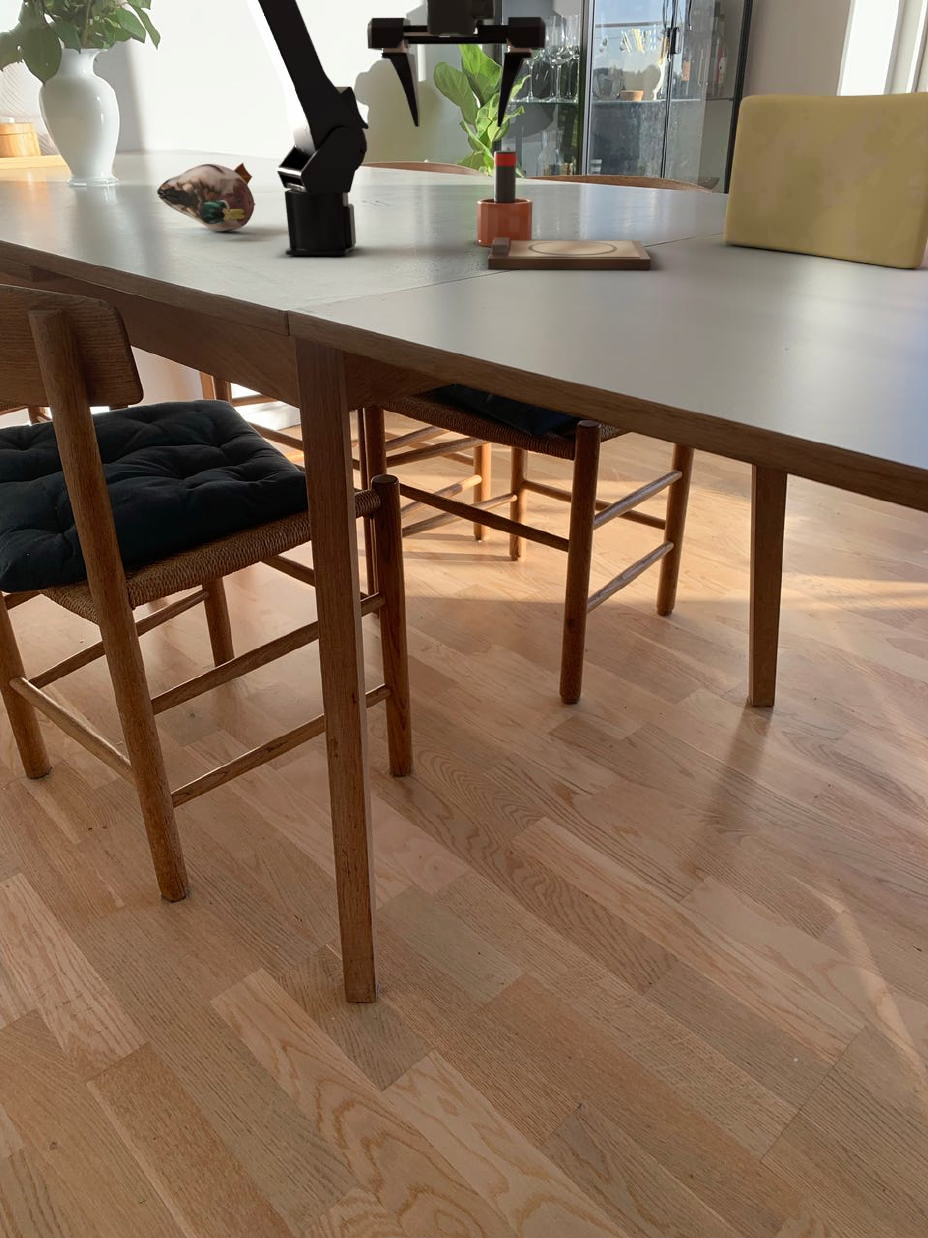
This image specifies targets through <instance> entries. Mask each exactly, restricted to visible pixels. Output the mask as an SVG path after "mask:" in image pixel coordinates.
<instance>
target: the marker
mask: <svg viewBox="0 0 928 1238" xmlns="http://www.w3.org/2000/svg"><path fill="white" fill-rule="evenodd" d="M517 160H518V156H517V150H495V151H494V153H493V165H494V169H493V170H494V176H493V177H494V178H493V180H494V181H493V183H494V184H493V198H494V203H515V198H516V195H517V194H516V192H517V191H516V190H517V189H516V187H517V186H516V185H517V179H516V178H517V165H518V164H517Z"/></svg>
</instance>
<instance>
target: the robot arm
mask: <svg viewBox="0 0 928 1238" xmlns="http://www.w3.org/2000/svg"><path fill="white" fill-rule="evenodd" d="M246 2H247V4H248V7H249V9H250V11H251V14H252V16H253V19H254V21H255V24H256V26H257V28H258V30H259V32H260V35H261V37H262V39H263V42H264V44H265V47H266V49H267V51H268V54H269V56H270V58H271V60H272V62H273V65H274V67H275V70H276V72H277V75H278V76H279V79H280V82H281V84H282V86H283V89H284V94H285V103H286V111H287V120H288V121H287V122H288V124H289V128H290V132H291V135H292V139H293V146H292V147H291V148H290V150H289V152H288V153H287V154H286V156H285V157H284V158H283V160H282V161H280V163H279V165H278V166H277V168H276V172H277V174H278V177H279V179H280V181H281V184H282V186H283V188H284V189H288V190H286V191H284V200H285V211H286V221H287V230H288V232H287V233H288V242H289V248H287V249H286V250H285V255H286V256H345V255H347V254H348V253H349V252H350V251H352V250H353V249H354V248H356V247H355V246H356V244H357V236H356V235H357V234H356V221H355V219H356V218H355V206H354V205H353V203H349V193H351V190H352V186H353V182H354V178H355V174H356V171H357V170H359V169H360V167H361V165H362V164H363V162H364V161H365V160H364V159H365V158H366V157H365V156H366V153H367V152H368V140H367V136H366V132H365V130H369V127H370V126H369V125H368V124H367V122H365V120H364V118H363V117H362V115H361V112H360V109H359V107H358V106H359V105H358V101H357V98H356V94H355V92H354V89H353V87H352V86H335V84H334V83H333V82H332V81H331V78H329V76H328V75H327V74H326V72H325V70H324V67H323V65H322V63H321V62H322V61H321V60H320V57H319V55H318V53H317V51H316V47H315V45H314V42H313V40H312V38H311V35H310V33H309V30H308V27H307V24H306V22H305V20H304V18H303V15H302V13H301V10H300V8H299V5H298V2H297V0H246ZM425 11H426V24H411V20H410V19H408V18H406V17H371V19H370V20H369V22H368V23H367V28H366V36H367V37H366V39H367V40H366V41H367V49H369V50H373V51H382V52H380V58H381V59H382V60H387V61H390V63H391V65H392V66H393V68H394V71H395V72H396V74H397V76H398V79H399V81H400V83H401V86H402V90H403V92H404V95H405V99H406V102H407V106H408V108H409V112H410V115H411V119H412V121H413V125H414V127H415V128H419V127H420V125H421V124H420V122H421V108H420V97H419V86H418V77H417V65H416V55H415V54H414V53H410V49H411V48H412V46H413V45H415V46H416V45H418V46H419V45H506V48H507V49H508V51H507V52H504V53H503V61H502V62H503V63H502V73H501V81H500V88H499V90H500V91H499V95H498V97H499V98H498V104H497V117H496V118H497V120H496V121H497V123H496V124H497V125H496V126H497V128H502V126H503V122H504V119H505V117H506V112H507V109H508V106H509V104H510V100H511V96H512V92H513V90H514V86H515V84H516V81H517V79H518V77H519V74H520V72H521V69H522V67H523V65H524V63H525V61H528V60H529V61H531V60H534V53H533V51H546V50H547V23H546V22H545V21H544V19H543V18H542V17H541V16H508V17H507V24H486V21H487V20H494V19H495V16H496V0H425ZM476 31H477V32H476ZM475 32H476V33H475Z"/></svg>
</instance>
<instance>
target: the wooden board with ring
mask: <svg viewBox="0 0 928 1238" xmlns="http://www.w3.org/2000/svg"><path fill="white" fill-rule="evenodd" d="M490 248H491V249H490V250H489V251H490V252H489V255H488V258H487V269H488V270H592V271H593V270H594V271H595V270H598V271H599V270H600V271H601V270H602V271H603V270H605V271H606V270H608V271H609V270H610V271H611V270H612V271H613V270H616V271H617V270H619V271H627V270H628V271H629V270H630V271H633V270H634V271H636V270H637V271H650V270H651V265H652V263H651V262H652V259H651V257H650V255H649V254H648V252H647V250H646V248H645V247H644V245H643V244H642V242H641V241H640V240H531V241H509V237H495V238H494V240H493V243H492V247H490Z"/></svg>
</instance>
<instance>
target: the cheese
mask: <svg viewBox="0 0 928 1238" xmlns="http://www.w3.org/2000/svg"><path fill="white" fill-rule="evenodd" d="M732 157H733V158H732V165H731V172H730V173H731V174H730V179H729V180H730V181H729V189H728V195H727V202H726V210H725V219H724V227H723V234H722V237H723V238H722V240H723V242H724V243H725V244H727V245H734V246H741V247H749V248H757V249H765V250H772V251H773V250H774V251H780V252H788V253H795V254H803V255H811V256H818V257H825V258H832V259H836V260H837V259H838V260H844V261H851V262H857V263H864V264H869V265H877V266H885V267H891V268H897V269H912V268H918V267H920V266H921V265H922V263H923V261H924V256H925V252H926V247H927V243H928V91H913V92H905V93H904V92H903V93H901V92H900V93H889V94H861V95H860V94H859V95H832V94H831V95H829V94H828V95H827V94H807V93H804V94H803V93H767V94H765V93H763V94H751V95H748V96H745V97H743V98H742V100H741V101H740V105H739V111H738V117H737V125H736V133H735V141H734V149H733V156H732Z"/></svg>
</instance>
